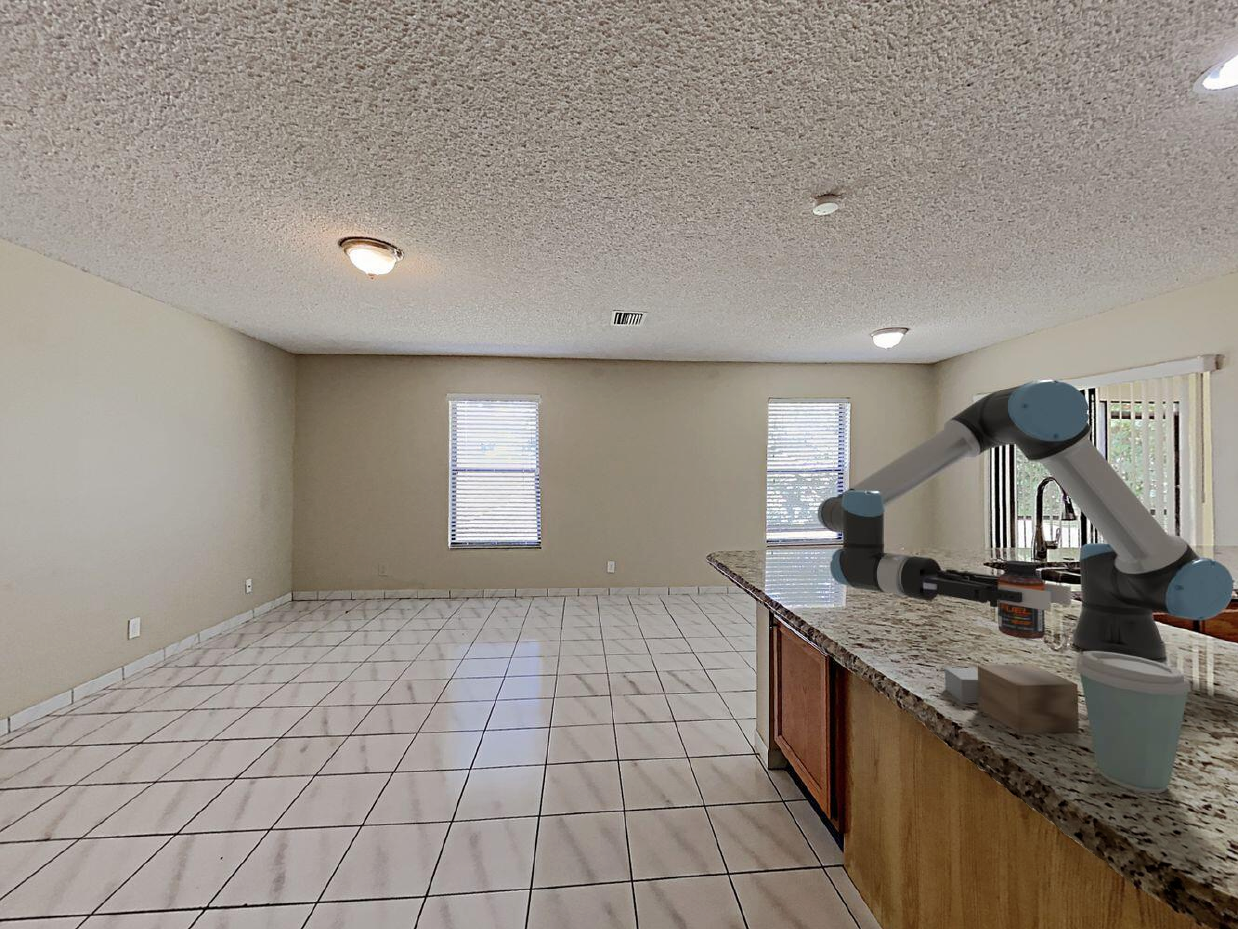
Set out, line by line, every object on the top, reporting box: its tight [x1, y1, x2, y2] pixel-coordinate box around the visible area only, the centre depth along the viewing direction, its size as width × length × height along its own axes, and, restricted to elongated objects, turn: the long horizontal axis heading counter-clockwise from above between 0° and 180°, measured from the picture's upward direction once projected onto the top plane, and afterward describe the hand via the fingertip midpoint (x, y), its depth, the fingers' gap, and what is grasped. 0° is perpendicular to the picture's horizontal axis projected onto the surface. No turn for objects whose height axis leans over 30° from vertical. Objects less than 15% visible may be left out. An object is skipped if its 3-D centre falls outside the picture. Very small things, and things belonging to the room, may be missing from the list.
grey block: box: [944, 667, 979, 704], centre depth 98 cm, size 6×6×4 cm
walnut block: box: [977, 664, 1080, 735], centre depth 88 cm, size 9×9×7 cm
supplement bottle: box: [997, 559, 1046, 640], centre depth 89 cm, size 6×6×11 cm
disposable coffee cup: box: [1076, 650, 1192, 794], centre depth 70 cm, size 11×11×15 cm
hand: (1059, 598), depth 85 cm, fingers closed on supplement bottle, 6 cm apart
